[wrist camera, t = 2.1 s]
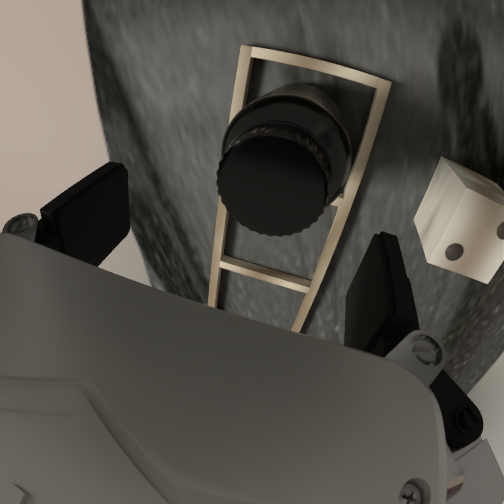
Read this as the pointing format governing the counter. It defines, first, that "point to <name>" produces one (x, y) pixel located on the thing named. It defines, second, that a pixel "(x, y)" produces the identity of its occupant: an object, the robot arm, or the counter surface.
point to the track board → (342, 202)
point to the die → (462, 222)
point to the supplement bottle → (284, 160)
